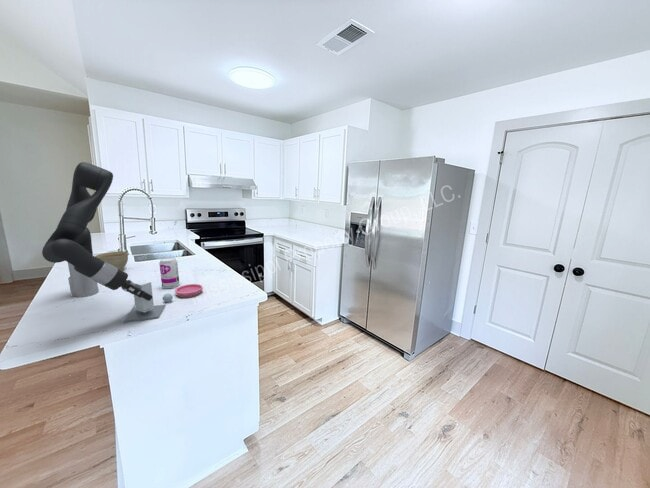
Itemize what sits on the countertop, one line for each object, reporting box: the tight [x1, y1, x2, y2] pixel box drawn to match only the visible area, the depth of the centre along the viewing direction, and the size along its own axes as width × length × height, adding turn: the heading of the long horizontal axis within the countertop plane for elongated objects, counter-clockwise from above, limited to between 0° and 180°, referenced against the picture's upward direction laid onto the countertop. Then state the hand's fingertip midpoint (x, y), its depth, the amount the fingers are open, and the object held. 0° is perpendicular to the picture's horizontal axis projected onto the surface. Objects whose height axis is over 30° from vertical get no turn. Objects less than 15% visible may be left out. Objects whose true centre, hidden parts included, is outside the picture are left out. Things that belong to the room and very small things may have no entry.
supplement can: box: [159, 257, 180, 289], centre depth 141 cm, size 8×8×15 cm
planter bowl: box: [94, 251, 129, 271], centre depth 164 cm, size 16×16×11 cm
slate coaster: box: [123, 304, 166, 323], centre depth 111 cm, size 12×12×1 cm
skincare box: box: [133, 279, 155, 312], centre depth 109 cm, size 6×4×12 cm
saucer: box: [174, 283, 204, 298], centre depth 133 cm, size 12×12×3 cm
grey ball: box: [162, 293, 174, 303], centre depth 122 cm, size 4×4×4 cm
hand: (148, 296), depth 110 cm, fingers closed on skincare box, 6 cm apart
